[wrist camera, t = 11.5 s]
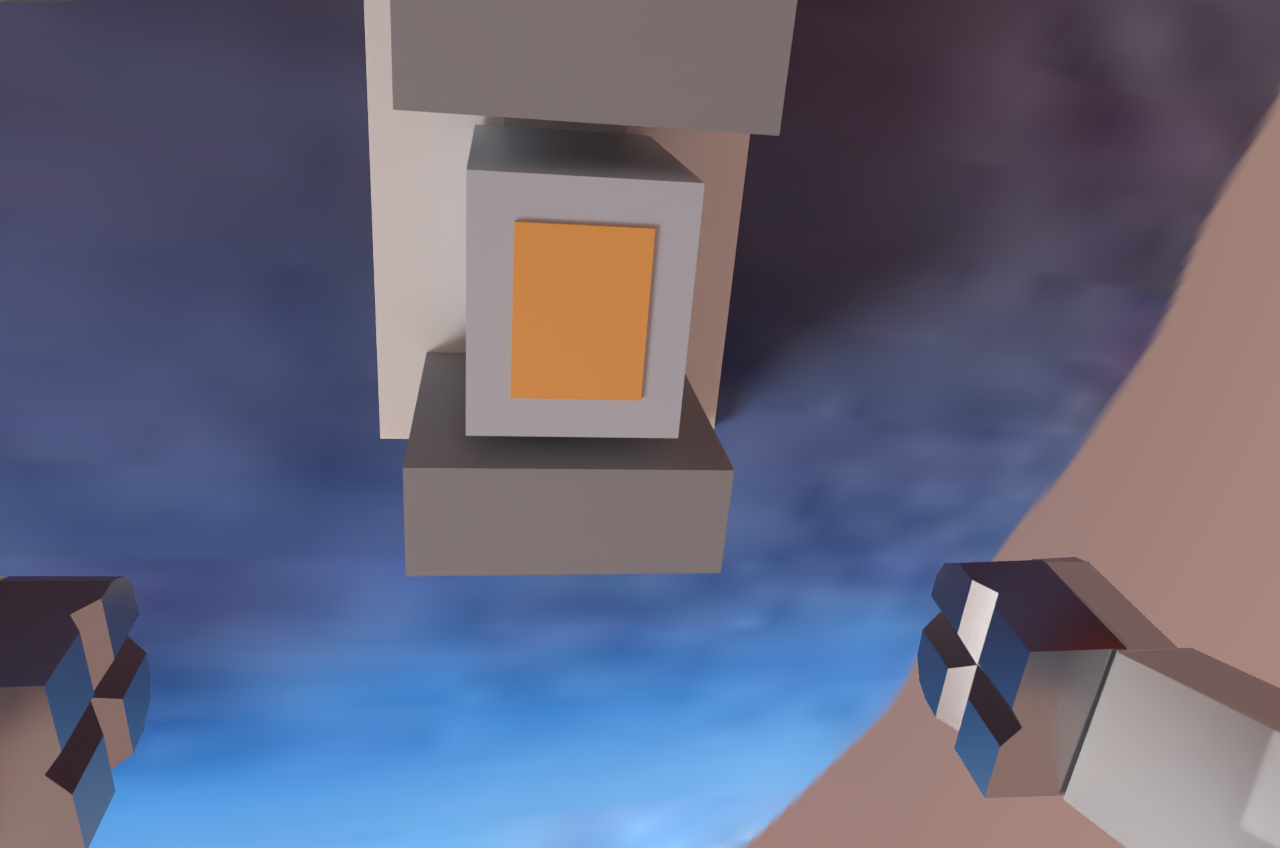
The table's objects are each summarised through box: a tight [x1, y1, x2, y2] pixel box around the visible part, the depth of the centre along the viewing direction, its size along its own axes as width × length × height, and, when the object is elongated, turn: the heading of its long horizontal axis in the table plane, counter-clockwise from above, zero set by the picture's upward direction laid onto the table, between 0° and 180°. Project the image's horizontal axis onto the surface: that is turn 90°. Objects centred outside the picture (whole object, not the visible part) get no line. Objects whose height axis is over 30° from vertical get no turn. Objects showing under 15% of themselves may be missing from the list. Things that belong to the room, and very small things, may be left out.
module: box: [466, 124, 705, 438], centre depth 24 cm, size 6×5×8 cm
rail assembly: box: [364, 0, 797, 576], centre depth 25 cm, size 14×11×9 cm
